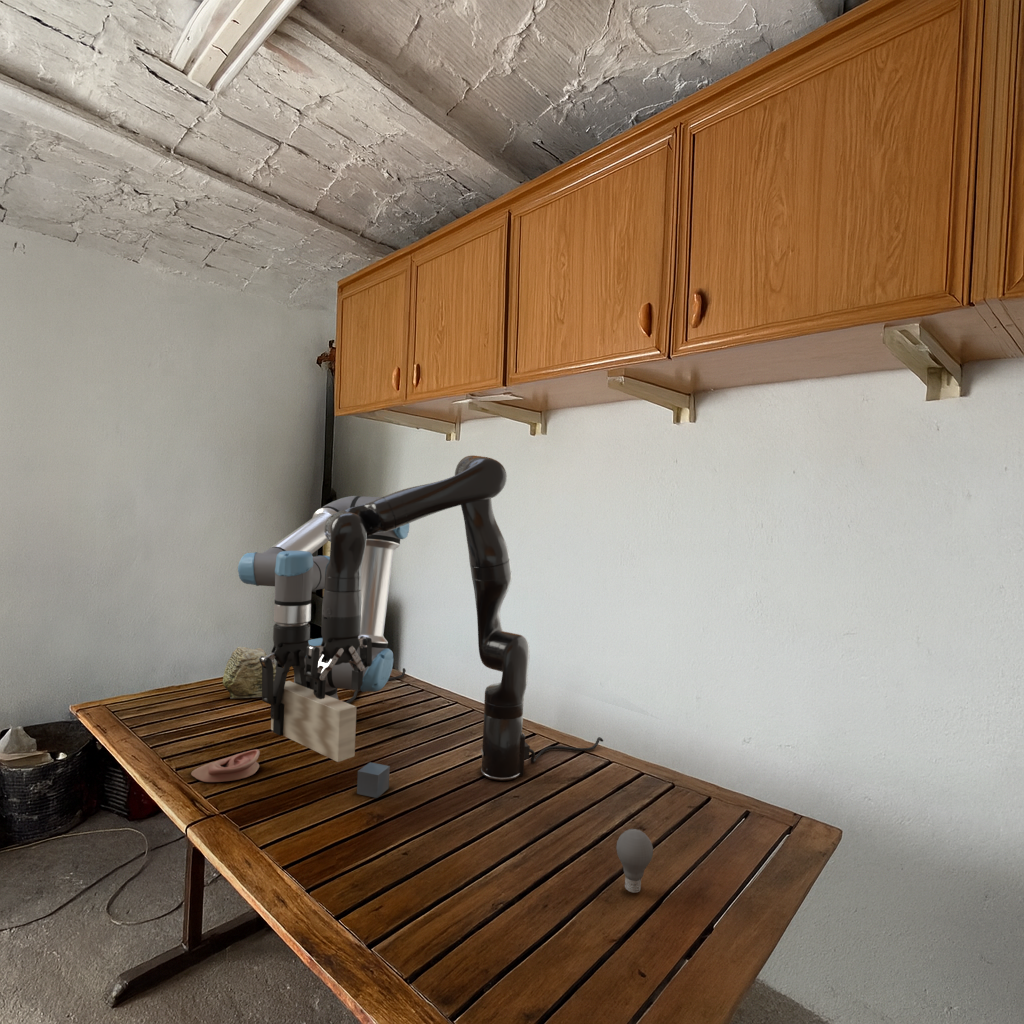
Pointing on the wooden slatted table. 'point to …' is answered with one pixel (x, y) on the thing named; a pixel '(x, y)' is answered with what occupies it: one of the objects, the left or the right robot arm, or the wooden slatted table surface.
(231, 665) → the fossil
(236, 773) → the anatomical model
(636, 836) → the light bulb
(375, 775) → the slate cube
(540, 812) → the wooden slatted table surface
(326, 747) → the ash block
